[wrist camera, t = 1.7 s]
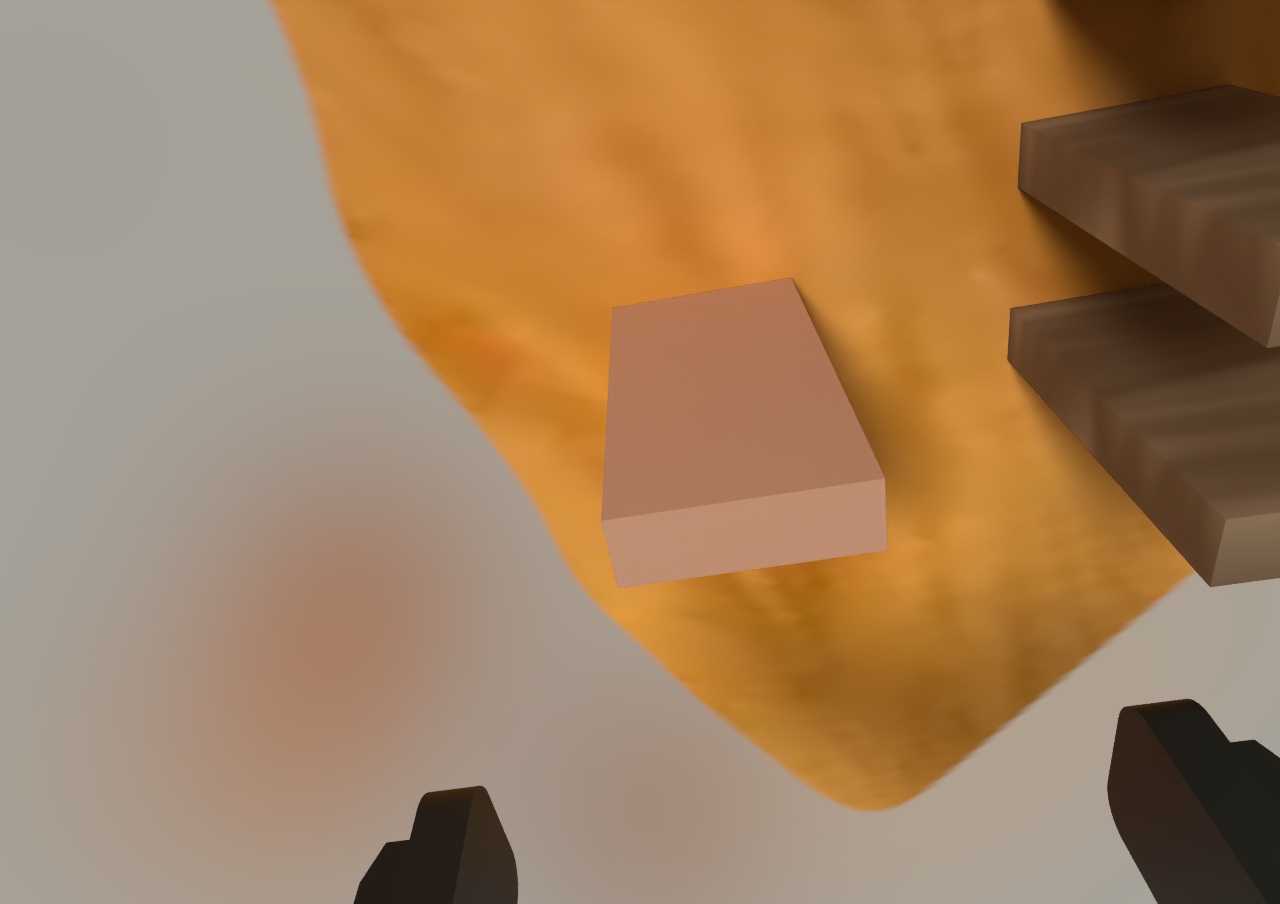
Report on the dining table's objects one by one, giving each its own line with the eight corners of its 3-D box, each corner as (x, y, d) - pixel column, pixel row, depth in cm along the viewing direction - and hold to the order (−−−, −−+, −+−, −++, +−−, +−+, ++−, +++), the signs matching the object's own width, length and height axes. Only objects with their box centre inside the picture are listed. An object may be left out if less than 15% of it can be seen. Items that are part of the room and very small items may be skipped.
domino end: (612, 308, 23) (601, 520, 15) (791, 277, 23) (884, 478, 14) (623, 359, 24) (618, 588, 16) (795, 330, 24) (887, 550, 15)
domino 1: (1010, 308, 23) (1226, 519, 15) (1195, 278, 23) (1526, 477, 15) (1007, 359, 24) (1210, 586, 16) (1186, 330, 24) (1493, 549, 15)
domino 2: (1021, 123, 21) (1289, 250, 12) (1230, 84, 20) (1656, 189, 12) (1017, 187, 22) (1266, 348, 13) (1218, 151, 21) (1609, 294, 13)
